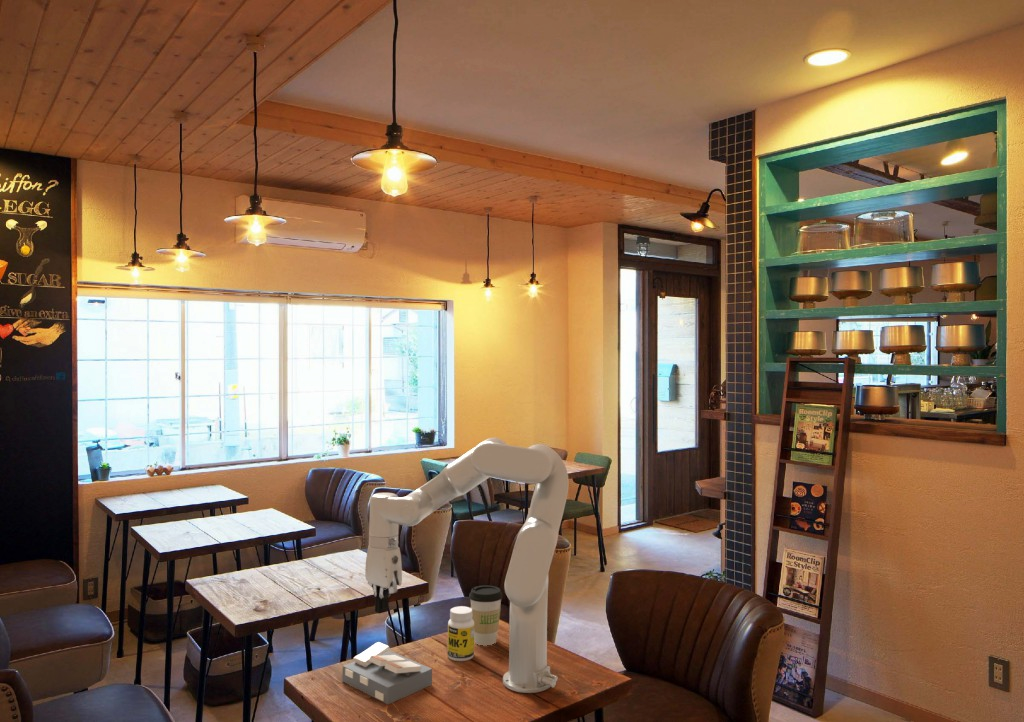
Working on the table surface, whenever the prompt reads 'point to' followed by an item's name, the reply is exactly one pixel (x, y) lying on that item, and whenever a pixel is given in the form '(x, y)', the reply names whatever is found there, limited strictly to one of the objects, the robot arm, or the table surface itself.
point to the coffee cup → (485, 613)
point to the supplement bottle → (460, 634)
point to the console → (386, 680)
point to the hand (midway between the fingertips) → (381, 611)
